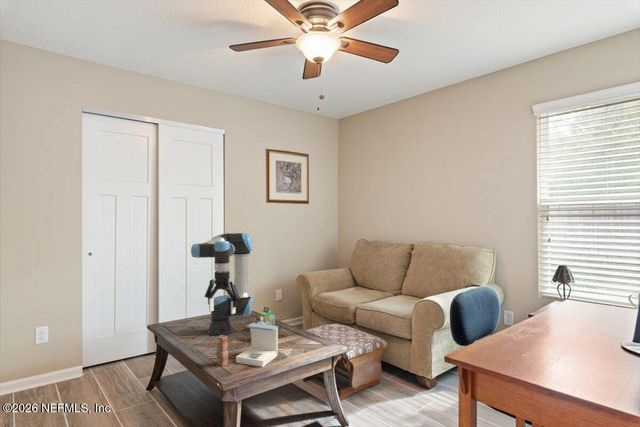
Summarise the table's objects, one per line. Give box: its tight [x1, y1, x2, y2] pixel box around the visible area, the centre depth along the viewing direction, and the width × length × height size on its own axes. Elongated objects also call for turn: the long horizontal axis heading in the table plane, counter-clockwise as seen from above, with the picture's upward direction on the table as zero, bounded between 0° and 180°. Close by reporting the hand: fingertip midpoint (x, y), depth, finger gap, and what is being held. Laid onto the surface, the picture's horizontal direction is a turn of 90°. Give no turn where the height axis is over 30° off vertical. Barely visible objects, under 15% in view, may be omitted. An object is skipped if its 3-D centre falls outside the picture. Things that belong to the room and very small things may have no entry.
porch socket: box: [235, 322, 279, 368], centre depth 192 cm, size 16×16×16 cm
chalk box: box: [255, 306, 276, 326], centre depth 240 cm, size 9×9×15 cm
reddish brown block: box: [216, 335, 229, 367], centre depth 186 cm, size 4×4×14 cm
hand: (222, 312), depth 186 cm, fingers open, 13 cm apart
